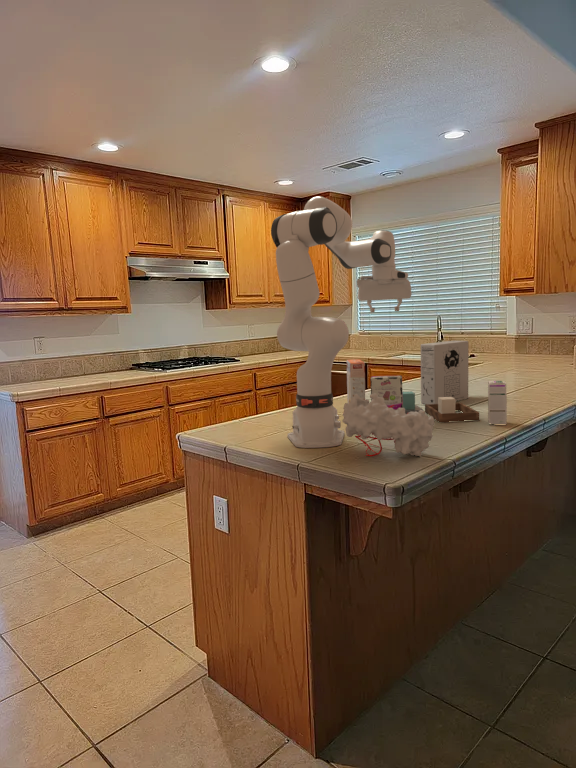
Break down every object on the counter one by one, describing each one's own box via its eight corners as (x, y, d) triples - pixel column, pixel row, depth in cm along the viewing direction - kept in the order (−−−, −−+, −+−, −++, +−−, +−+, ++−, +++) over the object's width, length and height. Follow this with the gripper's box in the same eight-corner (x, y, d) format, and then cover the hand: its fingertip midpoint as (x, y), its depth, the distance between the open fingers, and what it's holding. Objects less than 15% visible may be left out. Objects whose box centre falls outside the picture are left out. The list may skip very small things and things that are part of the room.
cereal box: (454, 396, 231) (454, 340, 228) (468, 398, 225) (468, 340, 222) (420, 403, 219) (420, 344, 216) (435, 405, 213) (434, 344, 210)
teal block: (415, 409, 199) (414, 393, 198) (401, 409, 199) (401, 394, 198) (411, 406, 204) (411, 391, 203) (399, 407, 204) (398, 392, 203)
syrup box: (506, 425, 174) (507, 382, 172) (488, 425, 176) (488, 382, 174) (505, 422, 179) (506, 380, 177) (487, 421, 181) (487, 380, 179)
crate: (479, 420, 183) (479, 412, 183) (439, 422, 183) (439, 414, 183) (461, 410, 202) (461, 402, 202) (425, 412, 202) (424, 404, 202)
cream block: (455, 414, 195) (455, 399, 194) (442, 415, 195) (442, 399, 194) (451, 412, 200) (451, 396, 199) (438, 412, 200) (438, 397, 199)
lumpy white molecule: (384, 469, 158) (318, 430, 150) (412, 416, 160) (349, 375, 152) (420, 486, 140) (348, 443, 132) (452, 426, 141) (382, 380, 133)
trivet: (423, 415, 197) (423, 410, 196) (397, 416, 197) (397, 411, 196) (416, 410, 206) (416, 405, 206) (391, 411, 206) (391, 406, 206)
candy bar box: (403, 419, 191) (402, 375, 188) (403, 422, 186) (402, 377, 184) (372, 419, 193) (371, 375, 191) (371, 422, 189) (370, 377, 186)
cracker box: (366, 416, 198) (365, 362, 195) (350, 417, 199) (349, 362, 196) (362, 409, 212) (360, 358, 209) (347, 410, 212) (345, 359, 209)
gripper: (357, 276, 196) (358, 313, 198) (412, 273, 196) (412, 310, 198) (355, 277, 202) (356, 313, 204) (408, 274, 202) (408, 310, 204)
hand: (384, 311), depth 201 cm, fingers open, 8 cm apart
